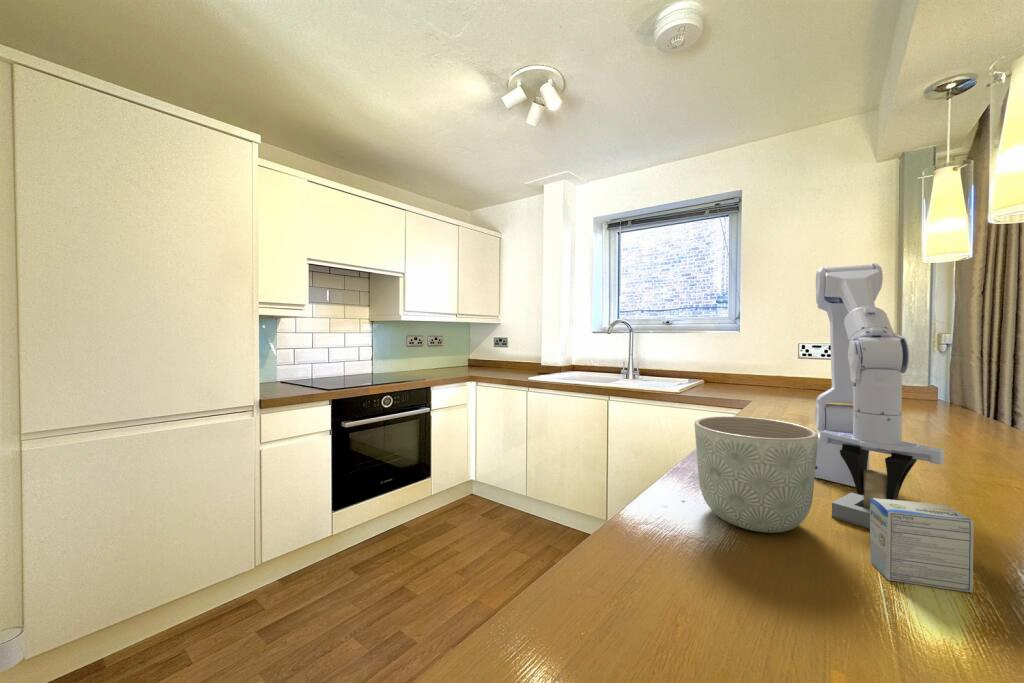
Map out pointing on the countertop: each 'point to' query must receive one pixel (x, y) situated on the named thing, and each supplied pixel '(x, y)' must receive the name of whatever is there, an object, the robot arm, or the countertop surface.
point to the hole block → (851, 510)
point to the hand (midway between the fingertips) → (876, 497)
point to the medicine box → (922, 544)
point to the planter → (756, 471)
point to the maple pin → (874, 486)
